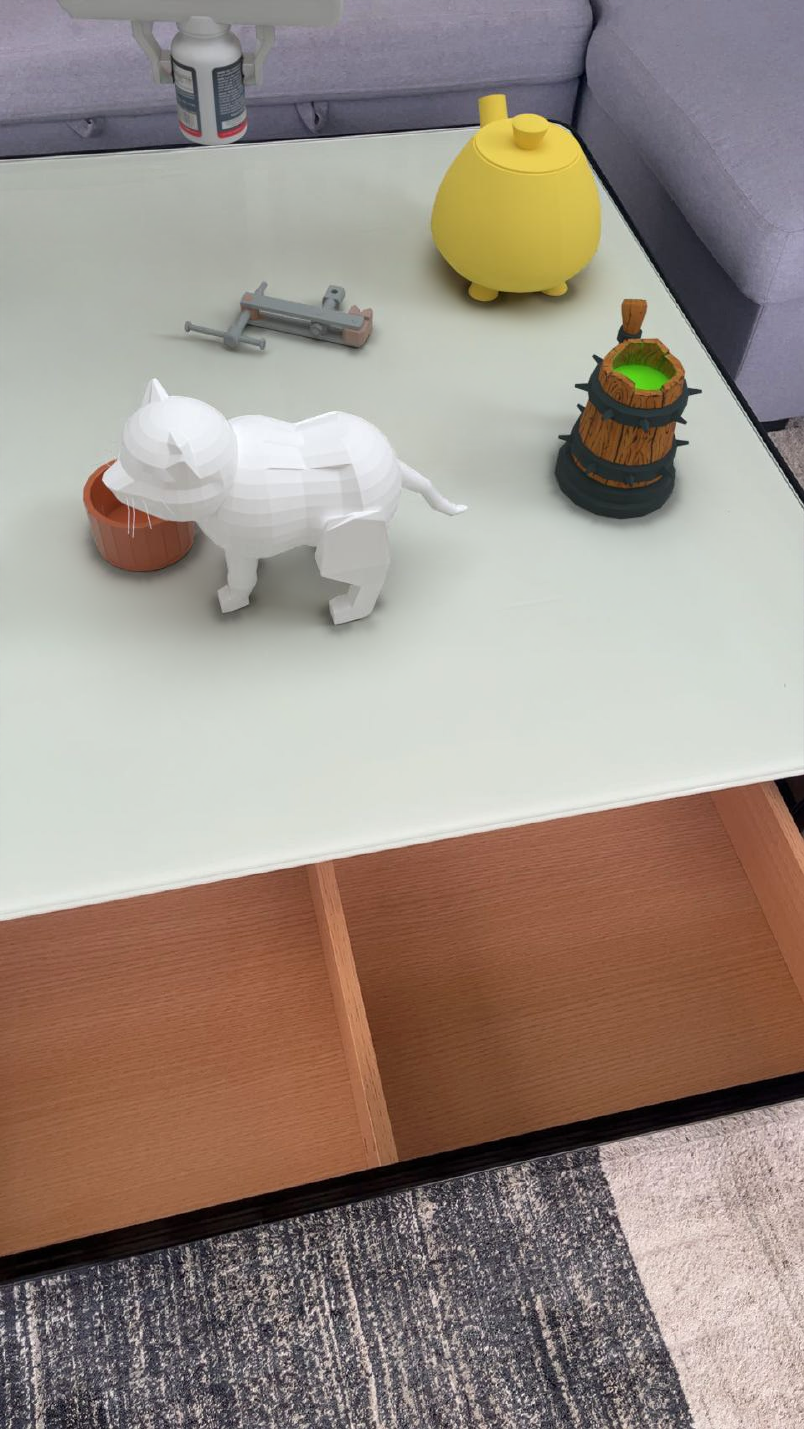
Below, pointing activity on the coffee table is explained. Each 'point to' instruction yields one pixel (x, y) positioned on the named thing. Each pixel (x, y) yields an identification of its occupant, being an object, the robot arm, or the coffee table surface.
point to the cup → (147, 543)
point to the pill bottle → (209, 82)
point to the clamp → (352, 322)
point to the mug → (626, 426)
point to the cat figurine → (270, 490)
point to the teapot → (517, 206)
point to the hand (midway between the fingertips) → (209, 82)
